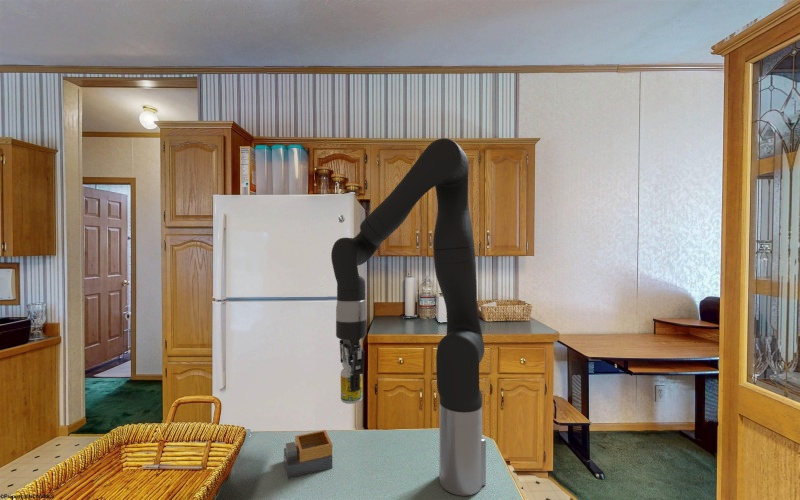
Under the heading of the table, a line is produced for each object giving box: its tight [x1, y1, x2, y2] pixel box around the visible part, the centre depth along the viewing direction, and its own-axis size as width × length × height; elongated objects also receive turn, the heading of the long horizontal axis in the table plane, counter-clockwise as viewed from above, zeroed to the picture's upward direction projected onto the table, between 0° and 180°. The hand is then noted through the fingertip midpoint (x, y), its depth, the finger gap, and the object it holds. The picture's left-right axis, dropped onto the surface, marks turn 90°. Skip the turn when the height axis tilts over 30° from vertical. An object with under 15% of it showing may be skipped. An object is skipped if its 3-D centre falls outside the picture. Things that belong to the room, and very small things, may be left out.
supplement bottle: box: [340, 360, 363, 405], centre depth 89 cm, size 5×5×10 cm
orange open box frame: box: [283, 429, 333, 480], centre depth 84 cm, size 10×8×6 cm
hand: (351, 385), depth 89 cm, fingers closed on supplement bottle, 5 cm apart
